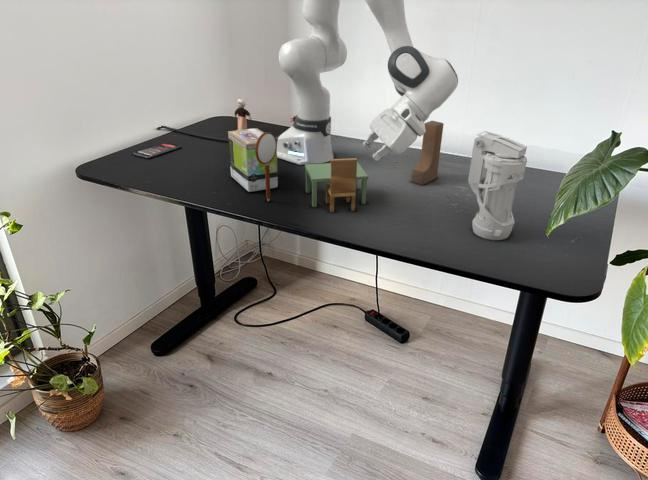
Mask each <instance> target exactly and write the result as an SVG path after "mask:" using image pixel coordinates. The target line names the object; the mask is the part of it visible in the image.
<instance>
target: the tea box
mask: <svg viewBox="0 0 648 480" xmlns="http://www.w3.org/2000/svg"><path fill="white" fill-rule="evenodd" d="M263 133H265V131H263V130H261V129H259V128H258V127H254V128H247V129H245V130H237V129H236V130H229V131H227V139H228V141H229V142H228V154H229V163H230V164H229V166H230V167H229V168H230V177H231V178H233V179H234V180H235V181H236V182H237V183H238V184H239V185H240V186H241V187H243V188H244V189H245V190H246V191H247V192H248V193H252V192H259V191H266V180H265V164H262V163H260V162H259V161H258V160H257V158H256V154H255V147H256V143H257V140H258V138H259V137H260V136H261V135H262V134H263ZM276 142H277V141H276ZM268 164H269V174H270V189H276V188H278V186H279V185H278V184H279V183H278V182H279V181H278V179H279V177H278V158H277V149H276V153H275V156H274V158H273V159H272V161H271V162H269V163H268Z"/></svg>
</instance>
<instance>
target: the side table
mask: <svg viewBox="0 0 648 480" xmlns="http://www.w3.org/2000/svg"><path fill="white" fill-rule="evenodd" d="M304 168H305V193H306V194H311V207H312V208H317V207H318V183H328V182H330V178H331V162H325V163H316V164H305V165H304ZM368 180H369V176H368V174H367V173H366V171H365V170H364V168H363V167H362V165H361V164H360V163H359V162H358V161H357V174H356V191H358V181H361V188H360V189H361V192H360V203H361V205H366V203H367V188H368V187H367V186H368Z"/></svg>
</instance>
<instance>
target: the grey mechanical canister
mask: <svg viewBox="0 0 648 480" xmlns="http://www.w3.org/2000/svg"><path fill="white" fill-rule="evenodd" d="M483 133H484V134H483ZM476 136H477V137H476V138H474V141H473V147H472V154H471V159H470V164H469V172H468V179H467V182H468V184H469V186H470V189H471V191H472V192H473V193H474V194H475V195H476V201H477V204H478V208H479V209H478V211H477V212H476V213H475V216H474V218H473V219H472V225H471V226H472V227H471V228H472V232H473V233H474V234H475V235H476V236H477V237H479V238H483V239H485V240H489V241H490V240H491V241H501V240H502V241H503V240H505V239H507V238H509V237H510V235H511V233H512V231H513V228H514V225H515V218H514V213H513V212H512V209H513V206H514V205H513V204H514V201H515V200H514V199H515V195H516V190H517V185H518V182H521V181H522V180H523V179H524V177H525V172H526V169H527V168H526V167H527V163H528V158H527V156H526V155H527V154H526V153H527V148H528V146H527V145H524V144H522V143H521V142H518V141H516V140H513V139H511V138H510V137H506V136H503V135H501V134H498V133H495V132H490V131H487V130H483V131H482V132H479V133H477V134H476Z"/></svg>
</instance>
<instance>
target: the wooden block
mask: <svg viewBox="0 0 648 480" xmlns="http://www.w3.org/2000/svg"><path fill="white" fill-rule="evenodd" d="M424 123H425V130H426V132H425V133H424V134H423V135H422V144H421V153H420V158H419V160H418V162H417V165H415V166H414V167H413V168H412V170H411V178H410V179H411V180H410V182H411V183H415V184H417V185H421V186H423V185H425V184H427V183H430V182H431V181H433V180H435V179H437V178H438V171H439V163H440V155H441V150H442V149H441V148H442V140H443V139H442V138H443V132H444V131H443V130H444V125H445V124H444V123H443V122H440V121H436V120H430V121H427V122H424Z"/></svg>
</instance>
